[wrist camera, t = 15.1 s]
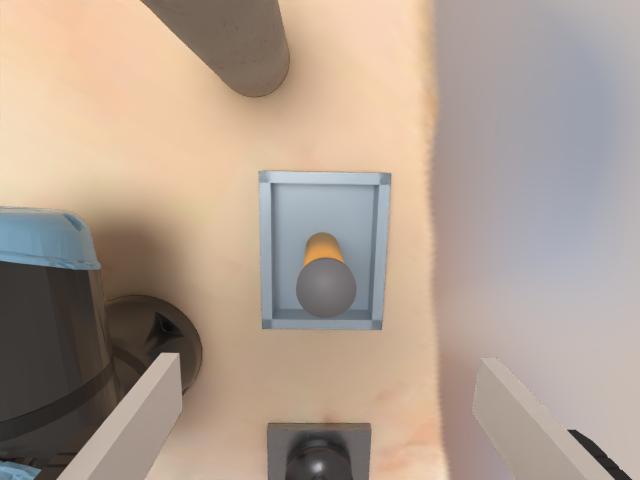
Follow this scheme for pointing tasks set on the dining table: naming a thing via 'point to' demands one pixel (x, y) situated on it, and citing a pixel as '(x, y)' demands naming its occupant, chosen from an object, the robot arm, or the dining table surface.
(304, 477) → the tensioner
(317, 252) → the lock pin
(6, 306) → the robot arm
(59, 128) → the dining table surface
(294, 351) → the dining table surface
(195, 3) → the thermos bottle
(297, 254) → the tray
